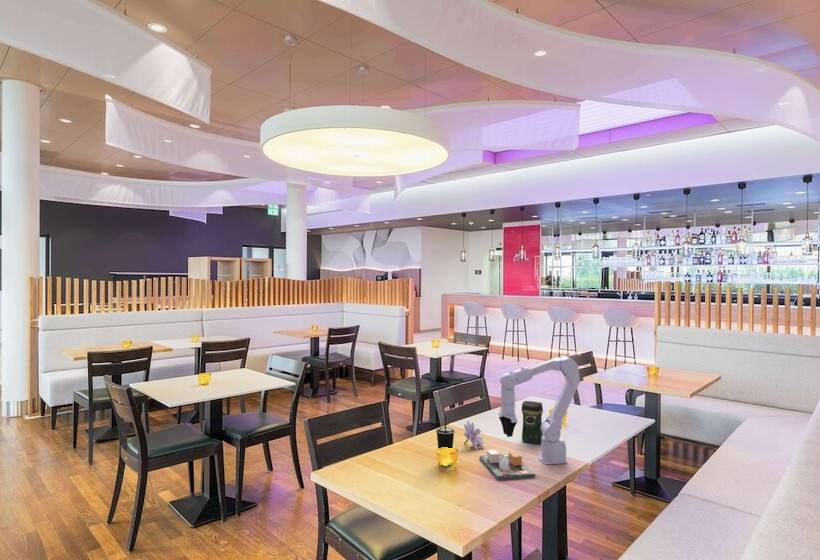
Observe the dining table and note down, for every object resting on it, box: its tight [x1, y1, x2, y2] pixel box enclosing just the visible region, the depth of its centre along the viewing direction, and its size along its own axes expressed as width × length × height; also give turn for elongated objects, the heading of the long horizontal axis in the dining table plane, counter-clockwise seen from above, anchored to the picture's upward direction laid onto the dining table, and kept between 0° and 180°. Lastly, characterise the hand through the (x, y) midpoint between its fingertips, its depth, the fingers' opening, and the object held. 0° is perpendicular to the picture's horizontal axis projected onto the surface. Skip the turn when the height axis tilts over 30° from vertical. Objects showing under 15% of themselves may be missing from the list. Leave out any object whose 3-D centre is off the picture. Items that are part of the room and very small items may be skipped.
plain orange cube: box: [508, 451, 523, 466], centre depth 192 cm, size 4×5×4 cm
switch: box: [486, 449, 500, 463], centre depth 195 cm, size 4×5×4 cm
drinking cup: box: [435, 414, 455, 449], centre depth 196 cm, size 8×8×20 cm
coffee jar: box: [521, 400, 544, 444], centre depth 224 cm, size 10×8×19 cm
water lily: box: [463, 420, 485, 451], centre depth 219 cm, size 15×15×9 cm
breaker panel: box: [479, 453, 536, 481], centre depth 192 cm, size 15×22×2 cm
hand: (508, 435), depth 200 cm, fingers open, 3 cm apart
